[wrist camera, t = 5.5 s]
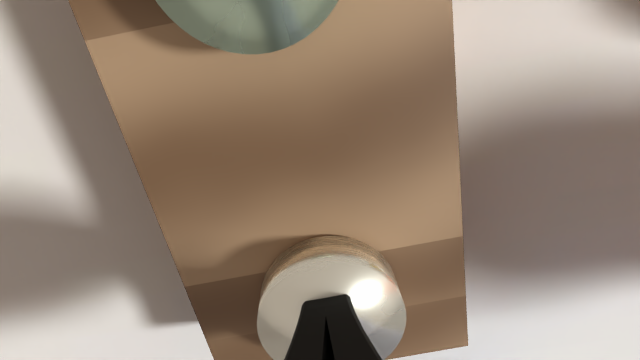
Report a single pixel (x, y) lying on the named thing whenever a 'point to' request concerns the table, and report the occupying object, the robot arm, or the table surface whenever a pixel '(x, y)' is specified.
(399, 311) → the silver knob
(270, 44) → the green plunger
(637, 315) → the table surface
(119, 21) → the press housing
